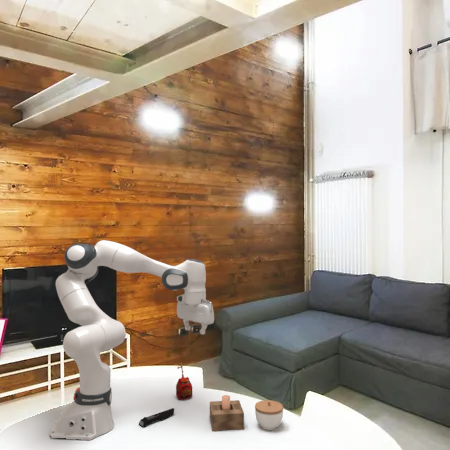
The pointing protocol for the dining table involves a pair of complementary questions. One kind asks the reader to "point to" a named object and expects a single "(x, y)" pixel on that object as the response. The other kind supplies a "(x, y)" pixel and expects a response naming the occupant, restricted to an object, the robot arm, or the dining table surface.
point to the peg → (225, 402)
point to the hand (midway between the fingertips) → (194, 332)
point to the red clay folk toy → (183, 387)
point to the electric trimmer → (156, 417)
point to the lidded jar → (269, 414)
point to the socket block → (226, 416)
